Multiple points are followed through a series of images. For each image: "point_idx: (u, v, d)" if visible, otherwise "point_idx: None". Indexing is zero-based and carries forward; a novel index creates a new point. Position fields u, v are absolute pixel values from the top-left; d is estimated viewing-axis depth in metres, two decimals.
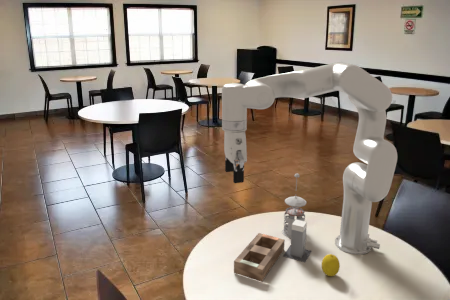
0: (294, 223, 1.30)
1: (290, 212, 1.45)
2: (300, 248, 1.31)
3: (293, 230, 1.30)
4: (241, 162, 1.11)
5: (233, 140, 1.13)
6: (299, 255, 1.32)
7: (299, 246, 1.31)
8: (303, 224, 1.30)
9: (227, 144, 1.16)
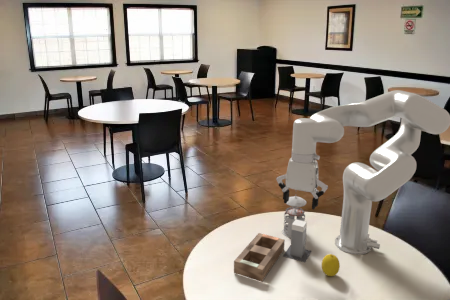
0: (294, 223, 1.30)
1: (290, 212, 1.45)
2: (300, 248, 1.31)
3: (293, 230, 1.30)
4: None
5: (314, 171, 1.21)
6: (299, 255, 1.32)
7: (299, 246, 1.31)
8: (303, 224, 1.30)
9: (302, 176, 1.22)
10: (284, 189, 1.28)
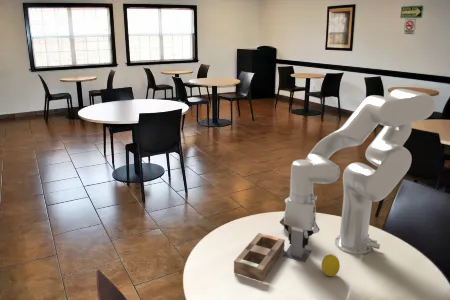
0: None
1: None
2: (300, 248, 1.31)
3: (293, 230, 1.30)
4: (318, 231, 1.28)
5: (312, 210, 1.25)
6: (299, 255, 1.32)
7: (299, 246, 1.31)
8: None
9: (300, 215, 1.27)
10: (289, 231, 1.32)
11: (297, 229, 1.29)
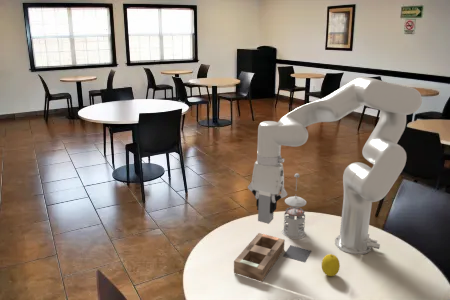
0: None
1: (290, 212, 1.45)
2: (267, 213, 1.27)
3: (260, 195, 1.26)
4: (285, 196, 1.24)
5: (279, 173, 1.21)
6: (267, 221, 1.28)
7: (266, 211, 1.27)
8: None
9: (267, 179, 1.23)
10: (257, 196, 1.28)
11: (264, 193, 1.25)
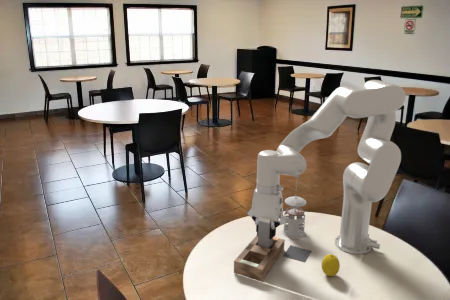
0: None
1: (290, 212, 1.45)
2: (267, 239, 1.30)
3: (260, 221, 1.29)
4: (284, 222, 1.27)
5: (278, 201, 1.25)
6: (266, 246, 1.31)
7: (265, 237, 1.30)
8: None
9: (267, 206, 1.26)
10: (256, 222, 1.31)
11: (264, 220, 1.28)
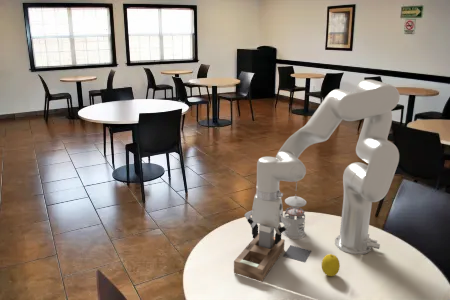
0: (261, 224, 1.31)
1: (290, 212, 1.45)
2: None
3: (260, 231, 1.30)
4: (289, 225, 1.27)
5: (278, 207, 1.25)
6: None
7: (266, 247, 1.31)
8: None
9: (267, 212, 1.27)
10: (252, 225, 1.32)
11: (264, 230, 1.30)
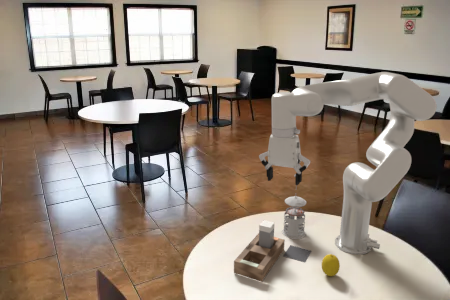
0: (261, 224, 1.31)
1: (290, 212, 1.45)
2: None
3: (260, 231, 1.30)
4: (309, 162, 1.19)
5: (295, 145, 1.19)
6: None
7: (266, 247, 1.31)
8: (270, 225, 1.30)
9: (284, 151, 1.20)
10: (267, 166, 1.26)
11: (264, 230, 1.30)
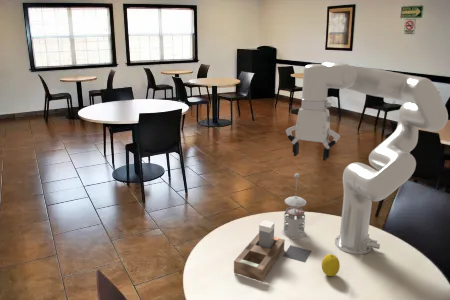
0: (261, 224, 1.31)
1: (290, 212, 1.45)
2: None
3: (260, 231, 1.30)
4: (339, 137, 1.17)
5: (326, 119, 1.16)
6: None
7: (266, 247, 1.31)
8: (270, 225, 1.30)
9: (313, 125, 1.17)
10: (294, 141, 1.23)
11: (264, 230, 1.30)
